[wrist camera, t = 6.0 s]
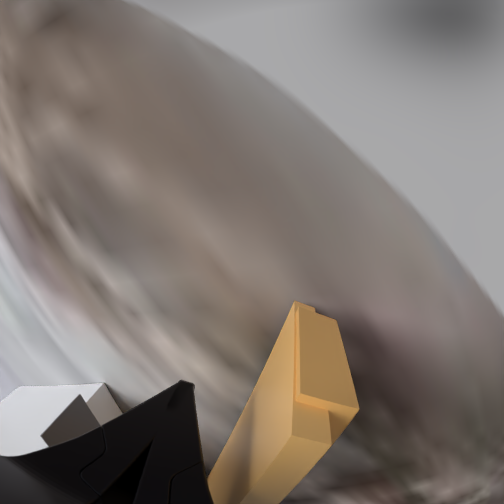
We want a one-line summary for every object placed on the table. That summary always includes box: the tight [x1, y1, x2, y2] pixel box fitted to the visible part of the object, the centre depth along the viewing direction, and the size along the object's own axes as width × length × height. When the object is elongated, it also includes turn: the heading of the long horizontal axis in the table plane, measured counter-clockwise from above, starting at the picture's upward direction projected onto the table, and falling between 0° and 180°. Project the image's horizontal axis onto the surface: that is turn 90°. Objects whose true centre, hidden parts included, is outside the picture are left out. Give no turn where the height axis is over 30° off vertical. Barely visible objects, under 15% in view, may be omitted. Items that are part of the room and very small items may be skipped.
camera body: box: [0, 383, 123, 456], centre depth 11 cm, size 12×8×7 cm, turn 18°
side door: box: [207, 301, 359, 504], centre depth 9 cm, size 15×1×6 cm, turn 160°
